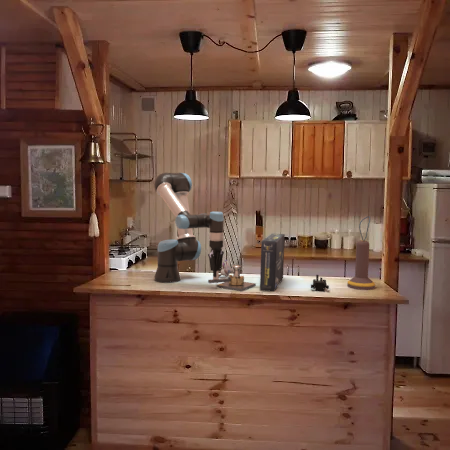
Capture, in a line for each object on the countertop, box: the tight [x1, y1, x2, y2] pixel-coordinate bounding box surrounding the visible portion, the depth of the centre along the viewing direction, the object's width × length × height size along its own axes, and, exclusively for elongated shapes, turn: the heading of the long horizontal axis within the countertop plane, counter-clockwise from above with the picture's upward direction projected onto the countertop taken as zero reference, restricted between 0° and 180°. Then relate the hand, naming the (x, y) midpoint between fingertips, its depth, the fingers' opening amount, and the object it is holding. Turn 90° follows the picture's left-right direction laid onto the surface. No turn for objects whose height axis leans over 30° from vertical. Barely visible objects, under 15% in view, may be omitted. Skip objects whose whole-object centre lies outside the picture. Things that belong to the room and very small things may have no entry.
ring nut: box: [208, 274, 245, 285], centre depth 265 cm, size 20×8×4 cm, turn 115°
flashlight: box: [347, 216, 376, 291], centre depth 271 cm, size 15×40×15 cm
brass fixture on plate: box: [216, 264, 257, 292], centre depth 267 cm, size 16×16×12 cm
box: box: [259, 233, 286, 292], centre depth 274 cm, size 35×9×28 cm, turn 166°
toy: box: [310, 274, 330, 293], centre depth 274 cm, size 10×5×30 cm
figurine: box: [219, 259, 233, 278], centre depth 295 cm, size 12×9×15 cm
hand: (215, 282), depth 265 cm, fingers closed
